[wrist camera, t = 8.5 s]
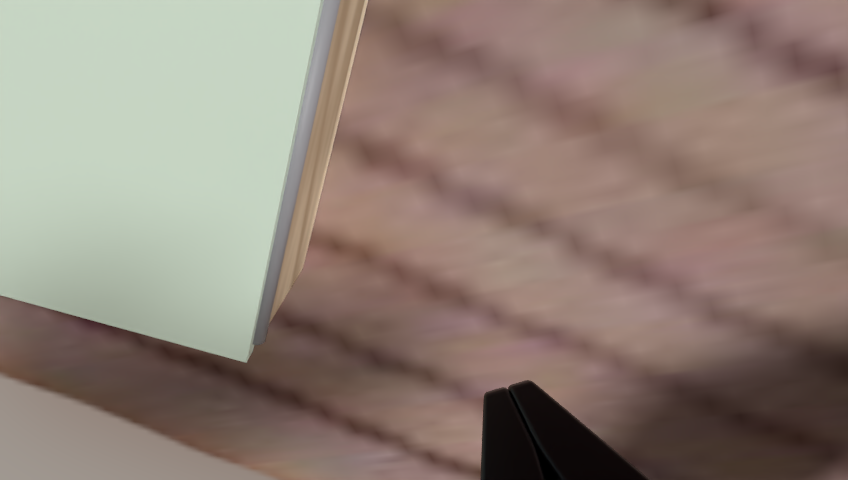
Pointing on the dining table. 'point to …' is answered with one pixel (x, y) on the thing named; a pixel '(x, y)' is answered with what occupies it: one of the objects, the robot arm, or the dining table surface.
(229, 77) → the lid
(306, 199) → the oak box
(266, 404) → the dining table surface
